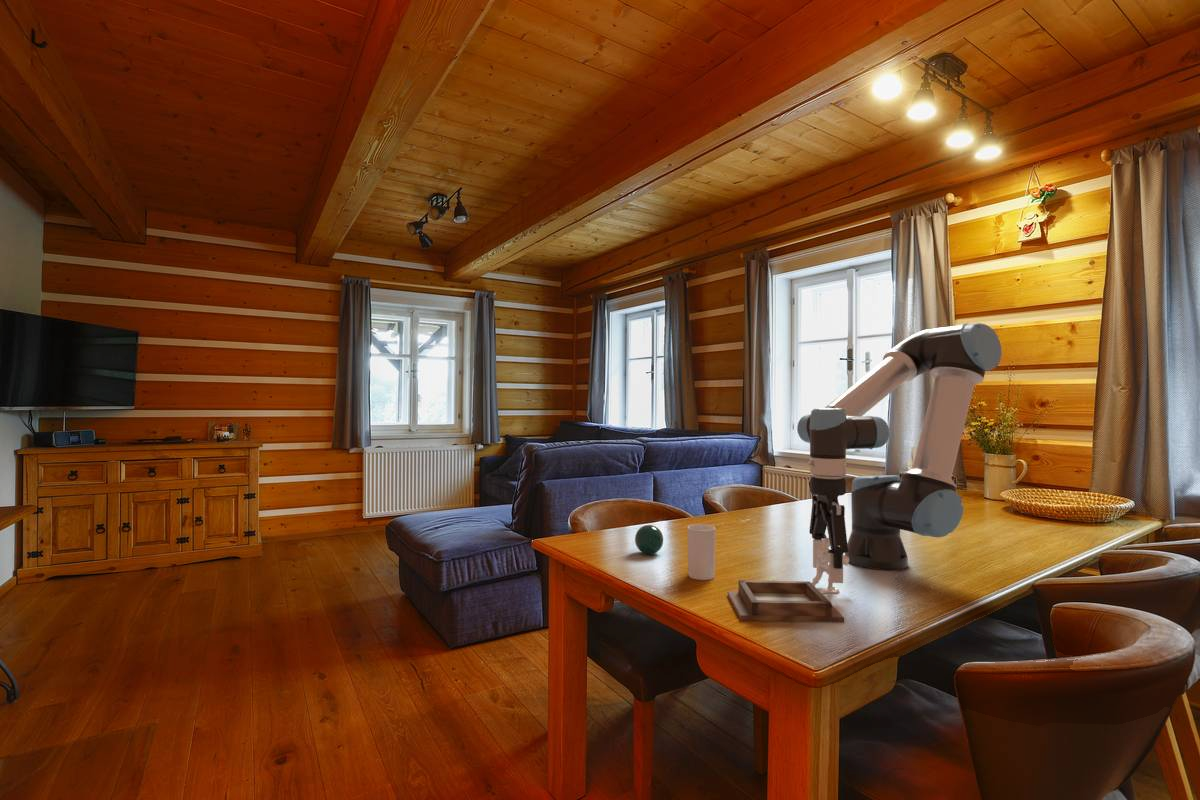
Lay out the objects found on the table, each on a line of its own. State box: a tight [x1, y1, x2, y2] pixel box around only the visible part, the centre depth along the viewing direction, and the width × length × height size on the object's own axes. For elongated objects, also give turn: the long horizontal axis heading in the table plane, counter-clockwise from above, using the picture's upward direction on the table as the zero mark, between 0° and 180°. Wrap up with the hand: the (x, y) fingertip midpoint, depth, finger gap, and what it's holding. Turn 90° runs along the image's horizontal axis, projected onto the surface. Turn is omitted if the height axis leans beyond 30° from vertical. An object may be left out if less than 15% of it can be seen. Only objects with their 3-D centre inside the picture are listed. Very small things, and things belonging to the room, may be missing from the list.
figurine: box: [811, 537, 850, 595], centre depth 128 cm, size 5×9×12 cm, turn 113°
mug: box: [687, 523, 716, 581], centre depth 140 cm, size 10×7×12 cm, turn 176°
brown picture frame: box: [727, 579, 845, 623], centre depth 118 cm, size 20×14×4 cm
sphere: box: [634, 524, 664, 555], centre depth 159 cm, size 8×8×8 cm
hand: (827, 574), depth 128 cm, fingers open, 10 cm apart
